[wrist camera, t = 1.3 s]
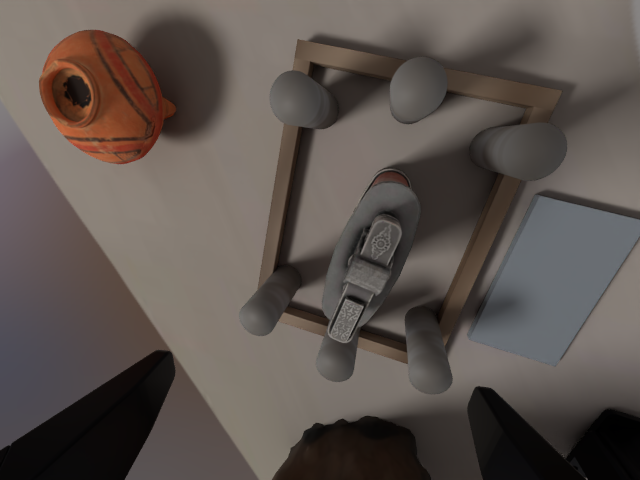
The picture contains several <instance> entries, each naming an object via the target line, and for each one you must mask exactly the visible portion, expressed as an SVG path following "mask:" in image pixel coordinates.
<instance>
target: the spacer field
mask: <svg viewBox="0 0 640 480" xmlns="http://www.w3.org/2000/svg"><path fill="white" fill-rule="evenodd" d="M314 65H316V66H321V67H326V68H331V69H336V70H341V71H346V72H351V73H355V74H360V75H365V76H370V77H375V78H380V79H385V80H390V81H391V85H390V109H391V113H392V115H393V116H394V118H395V119H396V120H397V121H399V122H401V123H404V124H412V123H415V122H418V121H419V120H421V119H422V118H424V117H425V116H427V115H428V114H430V113H431V112H433V111H434V110H435V109H436V108H437V107H438V106H439V105H440V104H441V102H442V101H443V99H444V97H445V95H446V92H448V93H453V94H458V95H463V96H468V97H473V98H477V99H482V100H487V101H492V102H497V103H502V104H507V105H512V106H516V107H521V108H526V111H525V113H524V116H523V118H522V120H521V123H520V125H513V126H504V127H495V128H488V129H486V130H483V131H482V132H480V133H479V134H478V135H477V136H476V137H475V138H474V139H473V141H472V143H471V146H470V157H471V159H472V161H473V162H474V163H475V164H476V165H477V166H479V167H482V168H485V169H488V170H491V171H495V172H498V173H499V174H498V176H497V179H496V181H495V183H494V186H493V188H492V190H491V193H490V195H489V197H488V200H487V202H486V204H485V207H484V209H483V211H482V213H481V216H480V218H479V220H478V223H477V225H476V227H475V230H474V232H473V234H472V237H471V239H470V241H469V244H468V246H467V248H466V251H465V253H464V255H463V258H462V260H461V262H460V265H459V267H458V269H457V272H456V274H455V276H454V279H453V281H452V283H451V286H450V288H449V290H448V293H447V295H446V297H445V300H444V302H443V304H442V307H441V309H440V311H439V314H438V316H436V314H435V313H434V312H433V311H432V310H431V309H429V308H426V307H415V308H412V309H410V310H409V311H408V312H407V314H406V316H405V330H406V343H407V344H404V343H401V342H397V341H394V340H391V339H388V338H385V337H382V336H379V335H376V334H373V333H370V332H366V331H363V330H360V327H357V329H356V332H355V334H354V336H353V338H352V339H351V341H349V342H347V343H342V342H339V341H337V340H334V339H333V338H331V337H330V336H329V335H328V327H329V324H330V320H329V319H326V318H323V317H320V316H317V315H314V314H311V313H308V312H304V311H301V310H298V309H295V308H292V307H289V306H288V304H289V303H290V301H291V300H292V298H293V296H294V295H295V293H296V291H297V290H298V288H299V287H300V285H301V276H300V274H299V272H298V271H297V270H296V269H295V268H293V267H291V266H287V265H283V266H280V267H278V268H277V266H278V260H279V255H280V249H281V244H282V238H283V233H284V227H285V222H286V216H287V211H288V205H289V200H290V194H291V189H292V183H293V178H294V172H295V167H296V161H297V156H298V150H299V145H300V139H301V134H302V128H303V127H307V128H314V129H325V128H328V127H330V126H331V125H332V124H333V123H334V122H335V120H336V118H337V116H338V103H337V100H336V99H335V97H334V96H333V95H332V94H331V93H330V92H329V91H327V90H326V89H325V88H323V87H322V86H321V85H319V84H318V83H317V82H315V81H314V80H313V79H312V73H313V68H314ZM561 93H562V91H561V90H556V89H551V88H546V87H540V86H535V85H530V84H525V83H520V82H515V81H510V80H504V79H499V78H494V77H489V76H484V75H479V74H474V73H468V72H463V71H458V70H453V69H448V68H443V67H442V65H441V64H440V63H439V62H437V61H436V60H434V59H432V58H429V57H416V58H412V59H410V60H408V61H407V60H401V59H396V58H391V57H386V56H381V55H376V54H371V53H365V52H360V51H355V50H350V49H345V48H340V47H335V46H329V45H324V44H319V43H314V42H309V41H304V40H299V39H298V40H297V46H296V52H295V59H294V65H293V70H292V71H287V72H285V73H283V74H281V75H280V76H279V77H278V78H277V79H276V80H275V82H274V83H273V85H272V88H271V91H270V105H271V108H272V111H273V113H274V114H275V116H276V117H277V118H278V119H279V120H280V121H281V122H283V123H284V127H283V134H282V140H281V146H280V152H279V159H278V165H277V171H276V177H275V184H274V190H273V196H272V202H271V209H270V215H269V221H268V228H267V234H266V240H265V246H264V253H263V259H262V265H261V271H260V278H259V284H258V290H257V291H256V293H255V294H254V295H253V296H252V297H251V298H250V299H249V301H248V302H247V303H246V304H245V305H244V306H243V307H242V309H241V310H240V313H239V319H240V322H241V324H242V326H243V327H244V328H245V329H246V330H247V331H248V332H249V333H251V334H253V335H257V336H265V335H267V334H269V333H271V331H272V330H273V329H274V327H275V325H276V324H277V322H278V321H279V322H282V323H285V324H288V325H291V326H294V327H297V328H300V329H303V330H306V331H309V332H312V333H315V334H318V335H321V336H324V339H323V342H322V345H321V348H320V351H319V353H318V356H317V359H316V367H317V370H318V372H319V373H320V374H321V375H322V376H323V377H324V378H326V379H328V380H330V381H334V382H342V381H345V380H347V379H349V378H350V377H351V376H352V374H353V370H354V364H355V358H356V352H357V347H358V348H361V349H364V350H367V351H370V352H373V353H376V354H379V355H382V356H385V357H388V358H391V359H394V360H397V361H400V362H403V363H406V364H408V369H409V379H410V382H411V384H412V385H413V386H414V387H415V388H416V389H417V390H419V391H421V392H423V393H426V394H439V393H442V392H444V391H446V390H447V389H448V388H449V387H450V386H451V384H452V379H453V378H452V373H451V370H450V366H449V362H448V358H447V354H446V350H445V345H446V343H447V341H448V339H449V336H450V334H451V332H452V330H453V328H454V326H455V323H456V321H457V319H458V317H459V315H460V313H461V310H462V308H463V306H464V304H465V302H466V299H467V297H468V295H469V293H470V291H471V289H472V286H473V284H474V282H475V280H476V278H477V276H478V273H479V271H480V269H481V267H482V265H483V263H484V260H485V258H486V256H487V254H488V252H489V250H490V247H491V245H492V243H493V241H494V239H495V236H496V234H497V232H498V230H499V228H500V226H501V223H502V221H503V219H504V217H505V215H506V213H507V210H508V208H509V206H510V204H511V202H512V200H513V197H514V195H515V193H516V191H517V189H518V187H519V184H520V182H521V180H525V181H532V180H538V179H541V178H544V177H546V176H548V175H550V174H551V173H552V172H554V171H555V170H556V169H557V168H558V167H559V166H560V164H561V163H562V161H563V160H564V158H565V155H566V152H567V141H566V138H565V135H564V134H563V132H562V131H561V130H560V129H559V128H558V127H556V126H554V125H552V124H549V123H548V121H549V119H550V117H551V115H552V113H553V110H554V108H555V106H556V104H557V102H558V100H559V97H560V95H561Z"/></svg>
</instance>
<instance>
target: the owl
mask: <svg viewBox="0 0 640 480" xmlns="http://www.w3.org/2000/svg"><path fill="white" fill-rule="evenodd" d="M416 455H417V449H416V443H415V437H414V435H413V434H412V433H411V431H410V430H409V429H407V428H404V427H400V426H397V425H396V424H394V423H392V422H388V421H384V420H381V419H379V418H377V417H370V416H365V417H363V418H361V419H359V420H358V421H355V422H353V423H348V422H347V421H345V420H344V419H341V420H338V421H337V422H335V423H334V424H330V425H326V426H323V425H322V424H319V423H315V424H314V425H313V426H312V427H311V428H310V429H308V430H306V431H304V433H303V436H302V438H301V440H300V441H299V442H298V443H297V444H296V445H295V446H294V447H292V448H291V451H290V454H289V457H288V458H287V460H286V461H285V462H284V463H283V465H282V466H281V467H280V468H279V470H278V471H277V472H276V474H275V475H274V477H273V479H272V480H431V478H430V475H429V473H428V472H427V470H426V469H424V468H423V467H422V465H421V464H420V462H419V460H418V458H417V456H416Z"/></svg>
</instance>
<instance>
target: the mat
mask: <svg viewBox="0 0 640 480" xmlns="http://www.w3.org/2000/svg"><path fill="white" fill-rule="evenodd" d="M639 237H640V219H636V218H632V217H628V216H624V215H620V214H616V213H612V212H607V211H603V210H599V209H595V208H591V207H587V206H582V205H578V204H574V203H570V202H566V201H562V200H558V199H553V198H549V197H545V196H541V195H537V194H535V196H534V198H533V200H532V202H531V204H530V206H529V208H528V210H527V212H526V215H525V217H524V219H523V221H522V223H521V225H520V227H519V229H518V231H517V233H516V235H515V237H514V239H513V241H512V243H511V245H510V247H509V250H508V252H507V254H506V256H505V258H504V260H503V262H502V264H501V266H500V268H499V270H498V272H497V274H496V276H495V278H494V280H493V282H492V285H491V287H490V289H489V291H488V293H487V295H486V297H485V299H484V301H483V303H482V305H481V307H480V309H479V311H478V313H477V315H476V317H475V320H474V322H473V324H472V326H471V328H470V330H469V332H468V334H467V336H468V338H469V340H472V341H475V342H478V343H482V344H485V345H488V346H491V347H494V348H498V349H501V350H504V351H507V352H510V353H514V354H517V355H520V356H523V357H526V358H530V359H533V360H536V361H539V362H543V363H546V364H549V365H552V366H556V365H557V363H558V361H559V360H560V358H561V357H562V355H563V354H564V352H565V351H566V349H567V348H568V346H569V345H570V343H571V341H572V340H573V338H574V337H575V335H576V334H577V332H578V331H579V329H580V328H581V326H582V324H583V323H584V321H585V320H586V318H587V317H588V315H589V314H590V312H591V311H592V309H593V308H594V306H595V304H596V303H597V301H598V300H599V298H600V297H601V295H602V294H603V292H604V291H605V289H606V288H607V286H608V284H609V283H610V281H611V280H612V278H613V277H614V275H615V274H616V272H617V271H618V269H619V267H620V266H621V264H622V263H623V261H624V260H625V258H626V257H627V255H628V254H629V252H630V251H631V249H632V247H633V246H634V244H635V243H636V241H637V240H638V238H639Z"/></svg>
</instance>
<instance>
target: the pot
mask: <svg viewBox="0 0 640 480" xmlns="http://www.w3.org/2000/svg"><path fill="white" fill-rule="evenodd" d="M39 89H40V95H41V99H42V102H43V104H44V106H45V108H46V110H47V112H48V114H49V115H50V116H51V118H52V120H53V122H54V124H55V125H56V127H57V128H58V130H59V131H60V132H61V133H62V134H63V135H64V137H65V138H67V140H68V141H69V142H71V143H72V144H73V145H74V146H76V147H77V148H79V149H80V150H81V151H83V152H85V153H86V154H88V155H90V156H92V157H94V158H96V159H99V160H101V161H104V162H108V163H114V164H125V163H129V162H133V161H136V160H138V159H140V158H142V157H144V156H145V155H146V154H147V153H148V152H149V151H150V149H151V148H152V147H153V145H154V144H155V142H156V141H157V139H158V137H159V135H160V132H161V129H162V126H163V119H166V118H169V117H171V116H173V115H174V112H175V111H176V107H175V105H174V104H173V103H171V102H170V101H168V100H167V99H165V98H164V97H162V93H161V90H160V87H159V84H158V81H157V79H156V77H155V75H154V73H153V71H152V69H151V68H150V66H149V65H148V63H147V62H146V60H145V59H144V58H143V57H142V55H141V54H140V53H139V52H138V51H137V50H136V49H135V48H133V47H132V46H131V45H130V44H129V43H128V42H127V41H126V40H124V39H122V38H120V37H119V36H116V35H113V34H110V33H107V32H104V31H100V30H84V31H79V32H77V33H74V34H72V35H70V36H68V37H66V38H65V39H63V40H62V41H61V42H60V43H59V44H57V45H56V46H55V47H54V48H53V50H52V51H51V52H50V54H49V56H48V58H47V60H46V63H45V65H44V68H43V73H42V75H41V77H40V79H39Z"/></svg>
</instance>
